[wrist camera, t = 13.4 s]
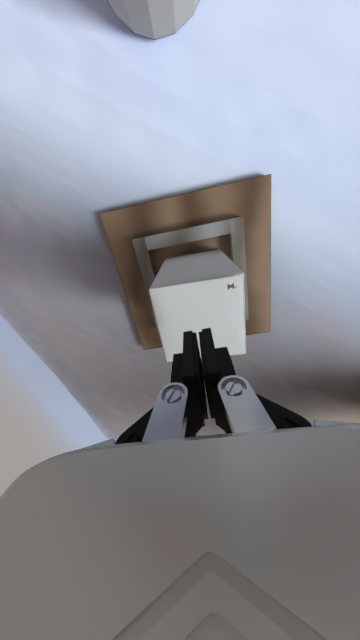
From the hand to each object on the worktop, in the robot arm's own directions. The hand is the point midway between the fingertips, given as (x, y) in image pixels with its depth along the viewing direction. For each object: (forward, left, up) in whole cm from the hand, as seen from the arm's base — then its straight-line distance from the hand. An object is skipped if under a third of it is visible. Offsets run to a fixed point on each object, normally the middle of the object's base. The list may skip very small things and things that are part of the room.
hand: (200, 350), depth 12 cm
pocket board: (0, 0, -18) cm, 18 cm away
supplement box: (0, 0, -17) cm, 17 cm away
